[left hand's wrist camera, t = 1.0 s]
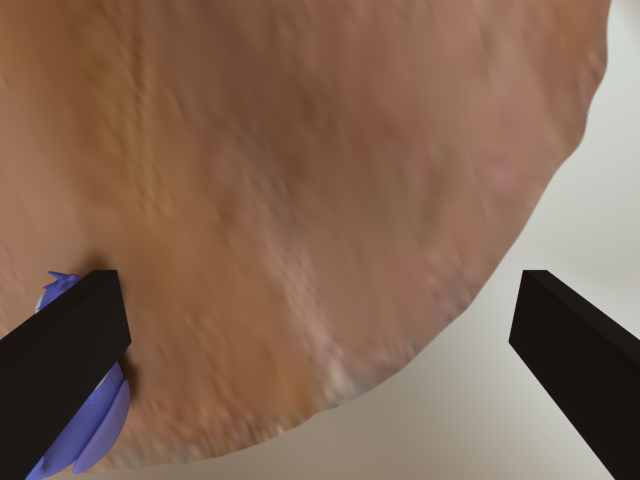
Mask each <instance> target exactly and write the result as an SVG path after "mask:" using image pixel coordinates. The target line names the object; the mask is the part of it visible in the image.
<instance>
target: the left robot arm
mask: <svg viewBox="0 0 640 480" xmlns="http://www.w3.org/2000/svg"><path fill="white" fill-rule="evenodd" d="M130 344H131V337H130V332H129V327H128V322H127V317H126V312H125V307H124V302H123V297H122V292H121V288H120V283H119V278H118V273H117V270H93V271H91V272H90V273H89V274H87V275H86V276H85V277H83V278H82V279H81V280H79V281H78V282H77V283H75V284H74V285H73V286H71V287H70V288H69V289H67V290H66V291H65V292H63V293H62V294H61V295H59V296H58V297H57V298H55V299H54V300H53V301H51V302H50V303H49V304H47V305H46V306H45V307H43V308H42V309H41V310H40V311H38V312H37V313H36V314H34V315H33V316H32V317H30V318H29V319H28V320H26V321H25V322H24V323H22V324H21V325H20V326H18V327H17V328H16V329H14V330H13V331H12V332H10V333H9V334H8V335H6V336H5V337H4V338H2V339H1V340H0V480H25V479H26V478H27V476H28V475H29V474H30V472H31V471H32V470H33V469H34V467H35V466H36V465H37V463H38V462H39V461H40V460H41V458H42V457H43V456H44V454H45V453H46V452H47V451H48V449H49V448H50V447H51V445H52V444H53V443H54V441H55V440H56V439H57V438H58V436H59V435H60V434H61V432H62V431H63V430H64V429H65V427H66V426H67V425H68V423H69V422H70V421H71V420H72V418H73V417H74V416H75V414H76V413H77V412H78V411H79V409H80V408H81V407H82V405H83V404H84V403H85V402H86V400H87V399H88V398H89V396H90V395H91V394H92V393H93V391H94V390H95V389H96V387H97V386H98V385H99V383H100V382H101V381H102V380H103V378H104V377H105V376H106V374H107V373H108V372H109V371H110V369H111V368H112V367H113V365H114V364H115V363H116V362H117V360H118V359H119V358H120V356H121V355H122V354H123V353H124V351H125V350H126V349H127V347H128V346H129V345H130ZM509 344H510V345H511V346H512V347H513V348H514V350H515V351H516V353H517V354H518V355H519V356H520V358H521V359H522V360H523V362H524V363H525V364H526V365H527V367H528V368H529V369H530V371H531V372H532V373H533V374H534V376H535V377H536V378H537V380H538V381H539V382H540V383H541V385H542V386H543V387H544V389H545V390H546V391H547V393H548V394H549V395H550V396H551V398H552V399H553V400H554V401H555V403H556V404H557V405H558V407H559V408H560V409H561V411H562V412H563V413H564V414H565V416H566V417H567V418H568V419H569V421H570V422H571V423H572V425H573V426H574V427H575V429H576V430H577V431H578V432H579V434H580V435H581V436H582V438H583V439H584V440H585V441H586V443H587V444H588V445H589V447H590V448H591V449H592V451H593V452H594V453H595V454H596V456H597V457H598V458H599V460H600V461H601V462H602V463H603V465H604V466H605V467H606V469H607V470H608V471H609V472H610V474H611V475H612V476H613V478H614V479H615V480H640V340H639V339H638V338H636V337H635V336H634V335H632V334H631V333H630V332H628V331H627V330H626V329H624V328H623V327H622V326H620V325H619V324H618V323H616V322H615V321H614V320H612V319H611V318H610V317H608V316H607V315H606V314H604V313H603V312H602V311H600V310H599V309H598V308H596V307H595V306H594V305H593V304H591V303H590V302H589V301H587V300H586V299H585V298H583V297H582V296H581V295H579V294H578V293H577V292H575V291H574V290H573V289H571V288H570V287H569V286H567V285H566V284H565V283H563V282H562V281H561V280H559V279H558V278H557V277H555V276H554V275H553V274H551V273H550V272H549V271H547V270H523V273H522V278H521V283H520V288H519V293H518V298H517V302H516V307H515V312H514V317H513V322H512V327H511V332H510V337H509Z"/></svg>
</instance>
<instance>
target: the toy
mask: <svg viewBox="0 0 640 480" xmlns="http://www.w3.org/2000/svg"><path fill="white" fill-rule="evenodd" d="M48 273H49V274H51V275H53V276H54V277H56V278H58V280H56V281H55V282H54V283H52V284H49V285H47V286H45V287H44V289H47V290H46V292H44V293H43V294H42V295H41V296H40V297H39V299H38V301H37V303H36V307H35V314H36V313H37V312H38V311H40V310H41V309H42V308H43V307H45V306H46V305H47V304H49V303H50V302H51V301H53V300H54V299H55V298H57V297H58V296H59V295H61V294H62V293H63V292H65V291H66V290H67V289H69V288H70V287H71V286H73V285H74V284H75V283H77V282H78V281H79V280H81V279H82V277H80V276H77V275H73V274H70V275H67V274H62V273H57V272H51V271H48ZM129 405H130V391H129V383H128V380H127V379H126V380H124V378H123V375H122V372H121V369H120V366H119V363H118V361H117V362H116V363H115V364H114V365H113V367H112V368H111V369H110V371H109V372H108V373H107V374H106V376H105V377H104V378H103V380H102V381H101V382H100V383H99V385H98V386H97V387H96V389H95V390H94V391H93V393H92V394H91V395H90V396H89V398H88V399H87V400H86V402H85V403H84V404H83V405H82V407H81V408H80V409H79V411H78V412H77V413H76V414H75V416H74V417H73V418H72V420H71V421H70V422H69V423H68V425H67V426H66V427H65V429H64V430H63V431H62V432H61V434H60V435H59V436H58V438H57V439H56V440H55V441H54V443H53V444H52V445H51V447H50V448H49V449H48V451H47V452H46V453H45V454H44V456H43V457H42V458H41V460H40V461H39V462H38V463H37V465H36V466H35V467H34V469H33V470H32V471H31V472H30V474H29V475H28V476H27V478H26V479H25V480H40V479H43V478H46V477H49V476H52V475H54V474H56V473H58V472H60V471H61V470H63V469H64V468H66V467H67V466H69V465H70V464H72V463H73V462H74V461H75V460H77V461H76V463H75V464H74V467H73V473H75V474H79V473H82V472H84V471H86V470H88V469H89V468H91V467H92V466H94V465H95V464H96V463H97V462H98V461H100V460H101V459H102V458H103V457H104V456H105V455H106V454H107V453H108V452H109V450H110V449H111V447H112V446H113V445H114V443H115V442H116V440H117V438H118V436H119V435H120V432H121V430H122V428H123V426H124V423H125V420H126V417H127V414H128V409H129Z"/></svg>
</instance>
